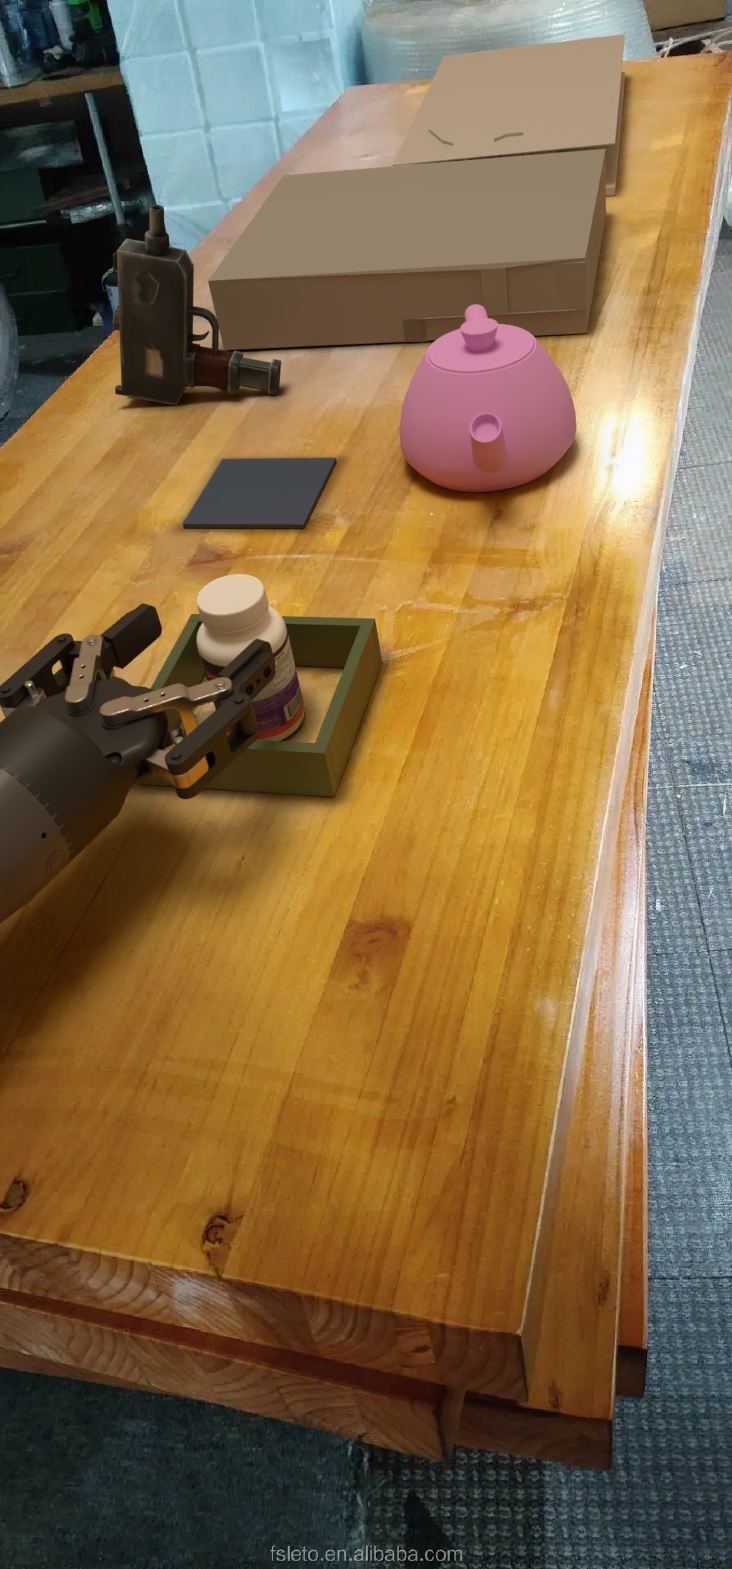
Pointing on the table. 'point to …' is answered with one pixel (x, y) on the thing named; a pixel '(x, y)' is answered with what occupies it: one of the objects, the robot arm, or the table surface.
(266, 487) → the mat
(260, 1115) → the table surface
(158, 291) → the gun
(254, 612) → the pill bottle
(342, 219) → the box
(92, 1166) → the table surface
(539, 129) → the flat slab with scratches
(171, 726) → the square frame
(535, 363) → the teapot
